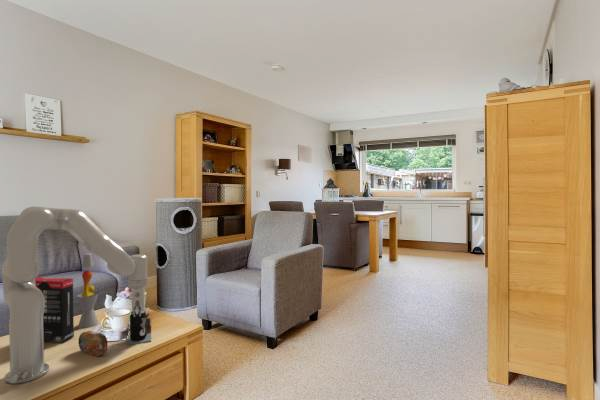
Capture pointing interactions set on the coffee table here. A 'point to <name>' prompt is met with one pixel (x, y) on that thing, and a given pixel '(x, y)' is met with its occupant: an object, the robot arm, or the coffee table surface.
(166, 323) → the coffee table surface
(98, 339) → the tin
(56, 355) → the coffee table surface
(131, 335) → the beverage can
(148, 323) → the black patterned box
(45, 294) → the graphics card box
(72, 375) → the coffee table surface
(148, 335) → the grey mat
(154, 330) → the coffee table surface
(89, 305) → the lava lamp
